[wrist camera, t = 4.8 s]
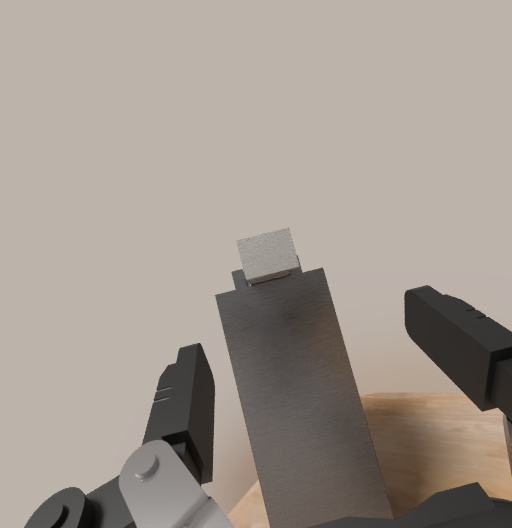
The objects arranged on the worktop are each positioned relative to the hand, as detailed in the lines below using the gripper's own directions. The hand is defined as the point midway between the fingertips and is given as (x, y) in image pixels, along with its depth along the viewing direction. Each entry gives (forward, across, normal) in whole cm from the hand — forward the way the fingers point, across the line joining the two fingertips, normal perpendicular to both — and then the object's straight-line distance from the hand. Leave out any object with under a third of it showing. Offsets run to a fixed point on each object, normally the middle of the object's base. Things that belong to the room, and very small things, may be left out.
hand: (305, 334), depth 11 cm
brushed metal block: (+19, 0, +7) cm, 21 cm away
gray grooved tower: (+9, 0, +38) cm, 39 cm away
